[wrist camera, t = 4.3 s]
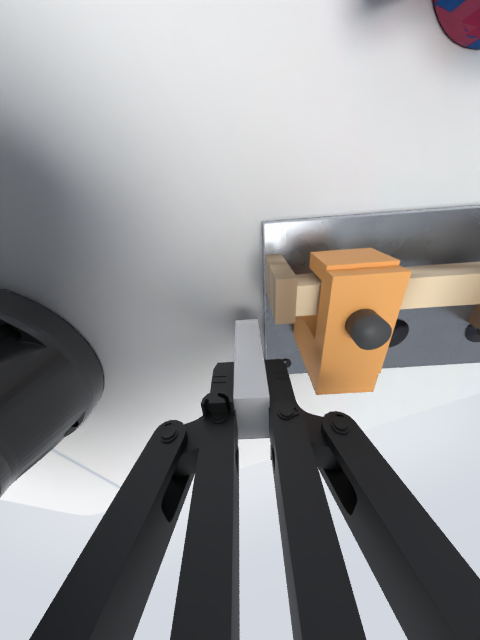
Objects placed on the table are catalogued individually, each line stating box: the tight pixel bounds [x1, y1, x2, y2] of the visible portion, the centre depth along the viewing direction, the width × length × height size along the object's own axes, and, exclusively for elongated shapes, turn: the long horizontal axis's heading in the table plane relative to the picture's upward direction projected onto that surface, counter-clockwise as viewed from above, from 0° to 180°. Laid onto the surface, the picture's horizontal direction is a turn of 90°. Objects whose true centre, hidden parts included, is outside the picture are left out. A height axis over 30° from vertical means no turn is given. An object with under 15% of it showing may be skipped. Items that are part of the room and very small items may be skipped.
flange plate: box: [263, 205, 480, 374], centre depth 17 cm, size 20×12×1 cm, turn 94°
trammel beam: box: [265, 254, 480, 335], centre depth 13 cm, size 20×8×7 cm, turn 94°
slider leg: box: [293, 248, 412, 395], centre depth 13 cm, size 3×8×7 cm, turn 4°
